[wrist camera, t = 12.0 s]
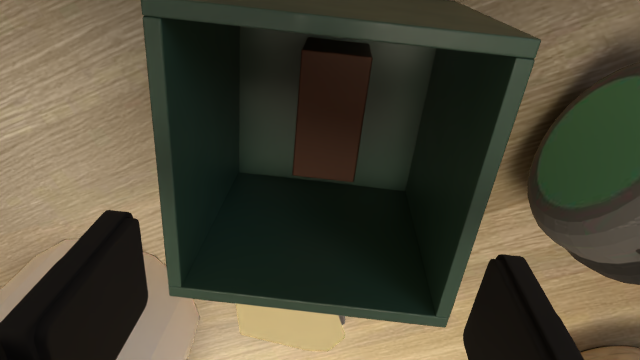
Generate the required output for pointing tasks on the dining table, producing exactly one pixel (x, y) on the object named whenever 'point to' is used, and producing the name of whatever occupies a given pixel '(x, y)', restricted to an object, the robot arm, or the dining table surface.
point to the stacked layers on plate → (291, 327)
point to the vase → (612, 353)
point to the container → (153, 325)
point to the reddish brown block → (330, 108)
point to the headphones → (594, 177)
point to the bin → (322, 194)
